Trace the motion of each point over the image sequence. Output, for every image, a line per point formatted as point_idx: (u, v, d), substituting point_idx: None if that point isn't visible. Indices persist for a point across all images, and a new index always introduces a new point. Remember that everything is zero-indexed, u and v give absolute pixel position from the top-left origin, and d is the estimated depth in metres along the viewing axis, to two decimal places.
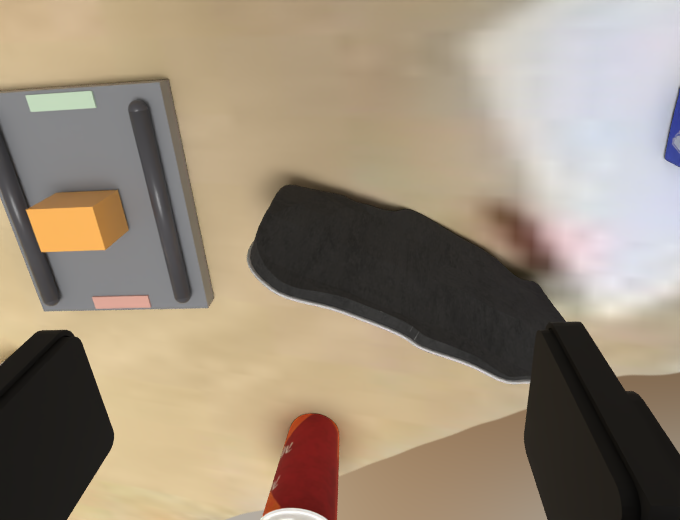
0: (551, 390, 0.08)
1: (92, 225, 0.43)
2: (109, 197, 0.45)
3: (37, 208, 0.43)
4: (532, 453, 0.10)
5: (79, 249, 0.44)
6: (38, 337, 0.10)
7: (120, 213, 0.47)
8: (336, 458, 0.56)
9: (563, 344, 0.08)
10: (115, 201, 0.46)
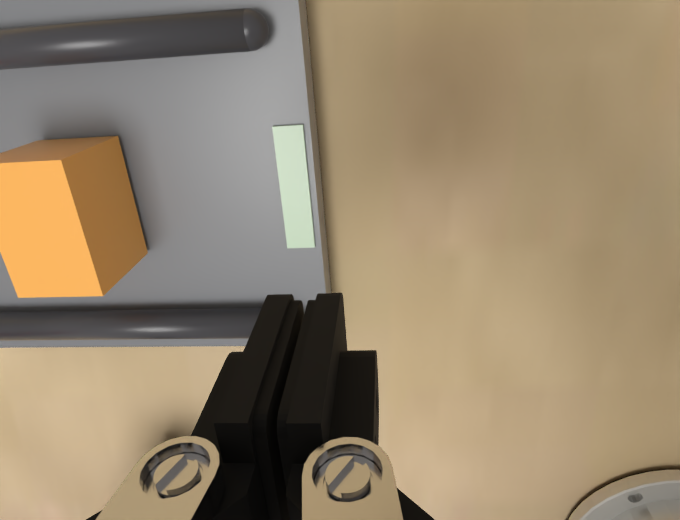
0: None
1: (63, 287, 0.22)
2: None
3: (69, 183, 0.20)
4: None
5: (2, 249, 0.21)
6: (272, 299, 0.10)
7: None
8: None
9: (315, 310, 0.10)
10: None
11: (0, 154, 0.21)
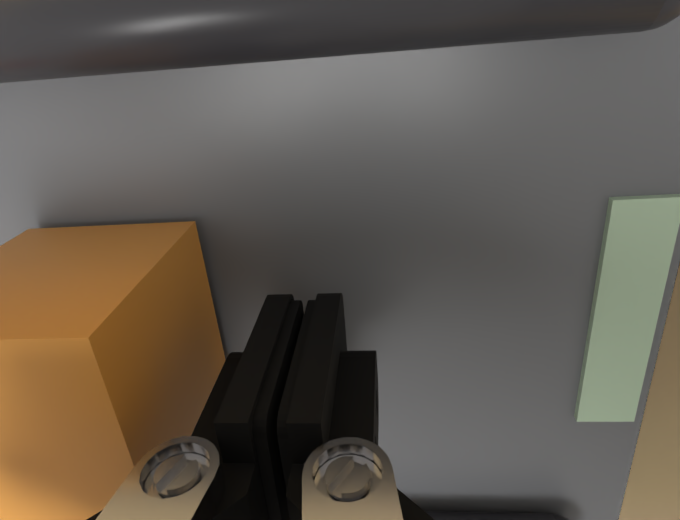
0: None
1: None
2: None
3: (110, 386, 0.08)
4: None
5: None
6: (272, 299, 0.10)
7: None
8: None
9: (315, 310, 0.10)
10: None
11: None
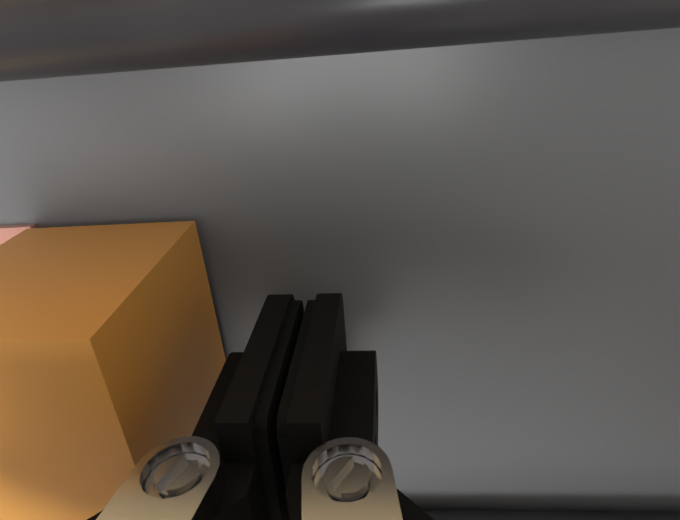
0: None
1: None
2: None
3: (112, 387, 0.08)
4: None
5: None
6: (273, 300, 0.10)
7: None
8: None
9: (314, 310, 0.10)
10: None
11: None
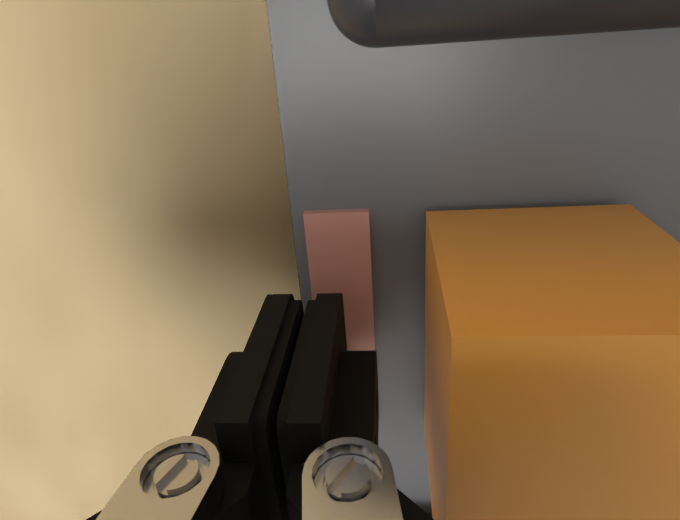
0: None
1: None
2: None
3: None
4: None
5: None
6: (272, 299, 0.10)
7: None
8: None
9: (315, 310, 0.10)
10: None
11: (454, 275, 0.08)
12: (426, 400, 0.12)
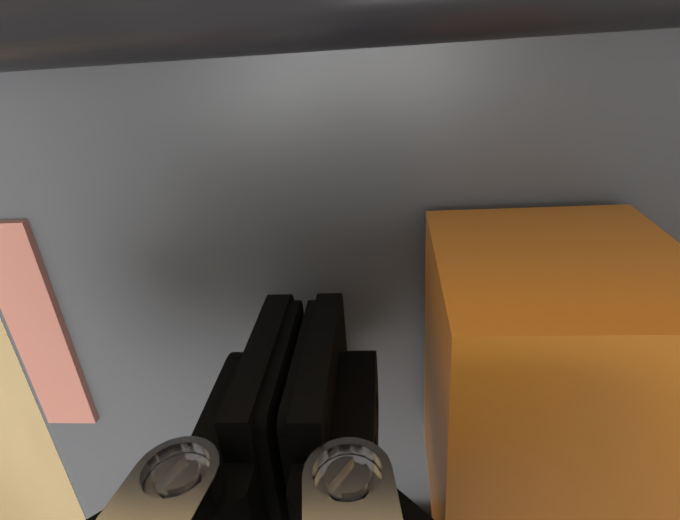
0: None
1: None
2: None
3: None
4: None
5: None
6: (272, 299, 0.10)
7: None
8: None
9: (315, 310, 0.10)
10: None
11: (454, 275, 0.08)
12: (426, 400, 0.12)
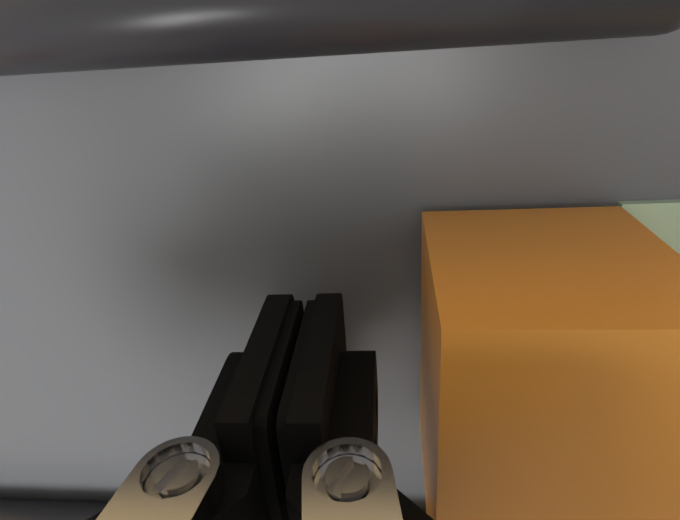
0: None
1: None
2: None
3: None
4: None
5: (444, 519, 0.08)
6: (272, 300, 0.10)
7: None
8: None
9: (314, 310, 0.10)
10: None
11: (446, 273, 0.08)
12: (421, 397, 0.12)
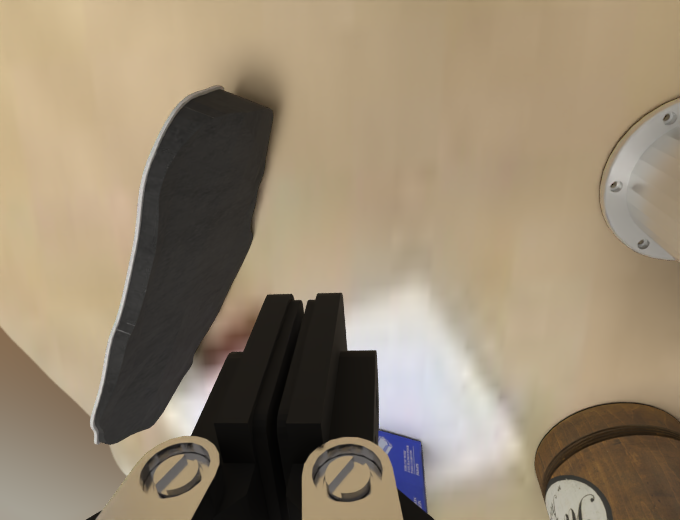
0: None
1: None
2: None
3: None
4: None
5: None
6: (272, 299, 0.10)
7: None
8: None
9: (315, 310, 0.10)
10: None
11: None
12: None
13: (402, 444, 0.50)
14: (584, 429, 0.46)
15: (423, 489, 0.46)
